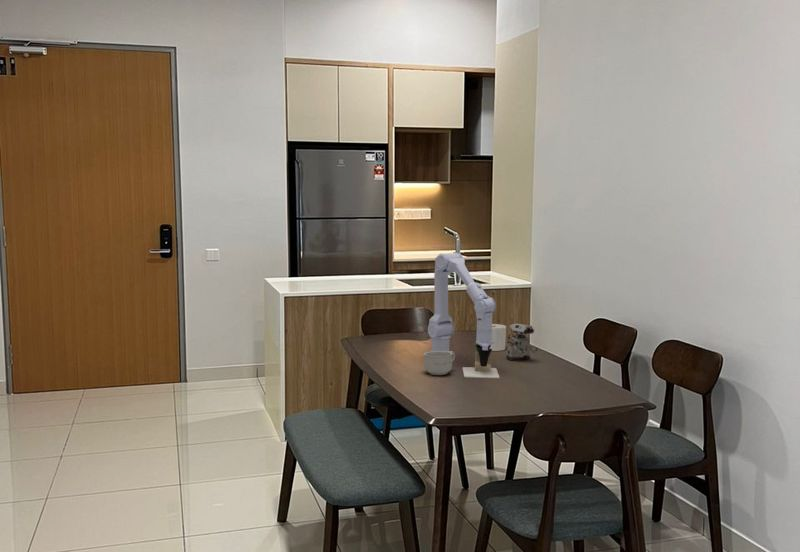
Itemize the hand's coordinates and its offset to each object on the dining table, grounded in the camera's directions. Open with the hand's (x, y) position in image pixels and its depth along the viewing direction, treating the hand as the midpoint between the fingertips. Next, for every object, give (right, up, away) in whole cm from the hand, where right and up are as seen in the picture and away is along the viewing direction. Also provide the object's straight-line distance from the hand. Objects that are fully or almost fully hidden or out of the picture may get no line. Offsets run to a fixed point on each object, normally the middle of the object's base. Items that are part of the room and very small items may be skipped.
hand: (483, 364), depth 293 cm
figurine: (+18, -1, +21) cm, 27 cm away
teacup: (-16, -3, -2) cm, 17 cm away
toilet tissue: (+8, +2, +42) cm, 43 cm away
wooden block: (0, -2, 0) cm, 2 cm away
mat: (-1, -3, -2) cm, 4 cm away
